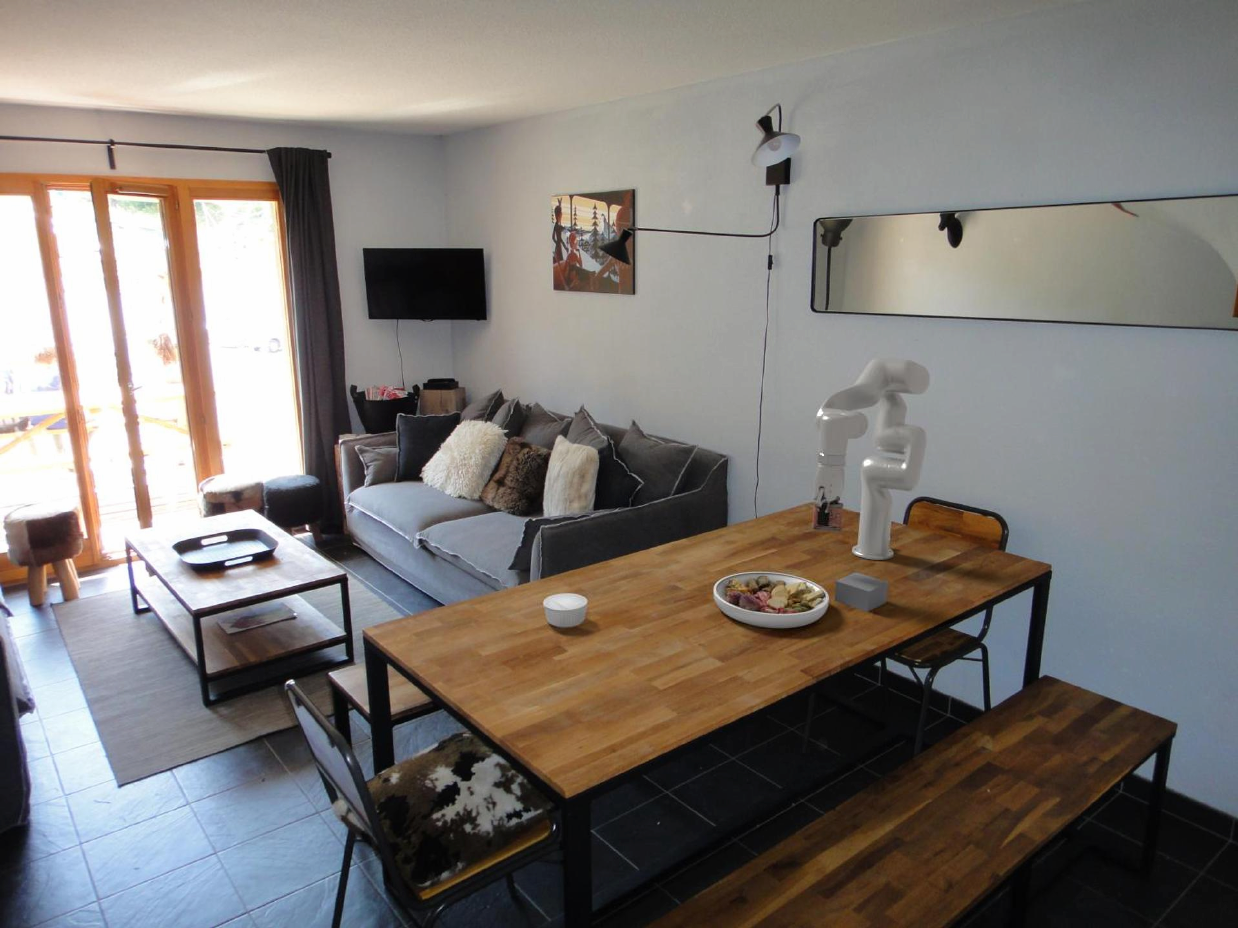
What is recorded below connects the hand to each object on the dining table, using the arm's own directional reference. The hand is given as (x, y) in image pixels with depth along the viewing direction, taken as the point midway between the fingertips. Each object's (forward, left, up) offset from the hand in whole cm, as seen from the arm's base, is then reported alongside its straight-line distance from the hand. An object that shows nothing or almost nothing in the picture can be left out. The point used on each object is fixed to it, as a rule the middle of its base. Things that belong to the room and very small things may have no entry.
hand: (827, 522), depth 234 cm
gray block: (+3, +12, -20) cm, 23 cm away
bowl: (+23, -5, -20) cm, 31 cm away
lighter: (0, 0, -2) cm, 2 cm away
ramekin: (+63, -42, -20) cm, 78 cm away
